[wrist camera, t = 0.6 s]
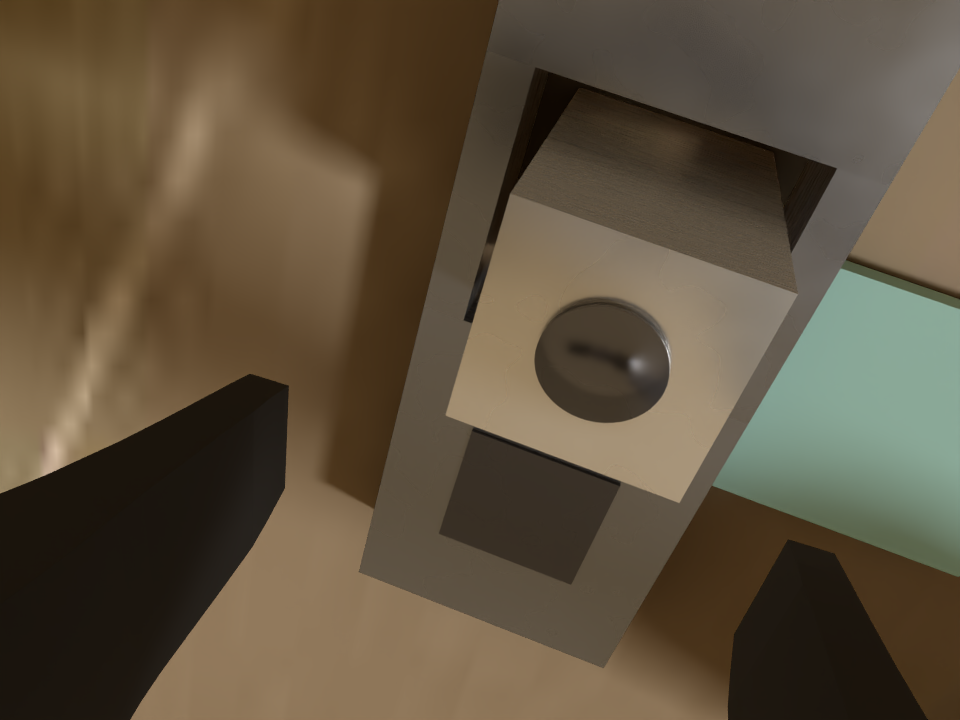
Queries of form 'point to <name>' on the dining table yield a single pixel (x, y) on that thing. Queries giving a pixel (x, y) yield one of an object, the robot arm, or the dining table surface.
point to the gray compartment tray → (473, 234)
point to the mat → (865, 421)
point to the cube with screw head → (628, 294)
